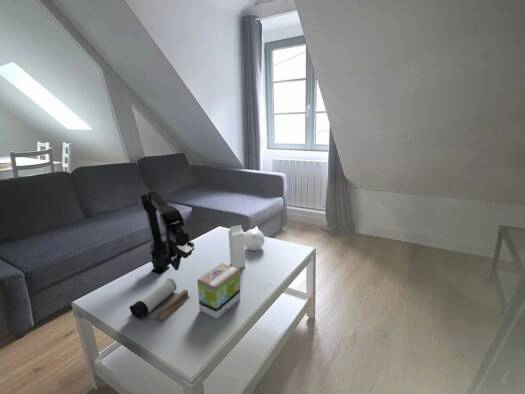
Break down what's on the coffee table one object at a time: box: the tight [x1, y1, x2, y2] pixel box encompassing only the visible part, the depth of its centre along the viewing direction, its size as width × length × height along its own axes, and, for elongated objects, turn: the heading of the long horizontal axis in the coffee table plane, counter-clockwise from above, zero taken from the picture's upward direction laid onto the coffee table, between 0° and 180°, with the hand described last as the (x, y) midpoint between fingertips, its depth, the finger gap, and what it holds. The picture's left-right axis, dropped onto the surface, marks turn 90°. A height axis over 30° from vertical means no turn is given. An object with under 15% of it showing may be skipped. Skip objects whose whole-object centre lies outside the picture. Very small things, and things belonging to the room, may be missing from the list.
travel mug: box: [128, 278, 178, 320], centre depth 117 cm, size 6×7×20 cm
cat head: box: [244, 226, 265, 252], centre depth 161 cm, size 15×13×12 cm
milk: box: [228, 224, 246, 269], centre depth 143 cm, size 6×6×22 cm
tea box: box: [196, 262, 241, 320], centre depth 115 cm, size 15×10×15 cm
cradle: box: [132, 283, 191, 323], centre depth 117 cm, size 16×16×3 cm
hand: (176, 270), depth 124 cm, fingers closed
